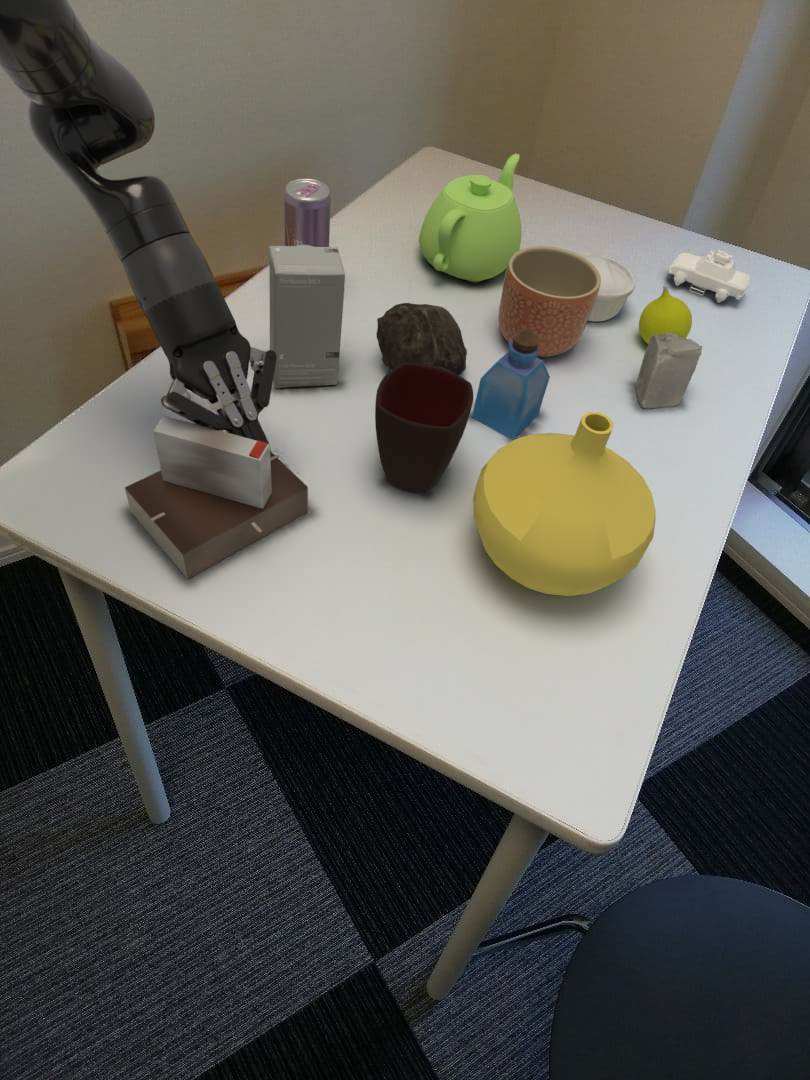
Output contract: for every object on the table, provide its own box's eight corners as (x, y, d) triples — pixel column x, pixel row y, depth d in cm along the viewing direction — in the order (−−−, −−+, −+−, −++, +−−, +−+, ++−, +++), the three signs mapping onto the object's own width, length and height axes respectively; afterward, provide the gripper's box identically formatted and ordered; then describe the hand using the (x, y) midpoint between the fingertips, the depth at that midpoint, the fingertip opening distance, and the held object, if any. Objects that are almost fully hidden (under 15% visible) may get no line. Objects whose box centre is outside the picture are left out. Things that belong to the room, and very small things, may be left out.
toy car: (672, 267, 125) (688, 228, 120) (744, 294, 122) (764, 255, 117) (661, 284, 121) (677, 244, 116) (735, 312, 118) (755, 272, 113)
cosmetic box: (274, 390, 96) (270, 277, 84) (269, 354, 100) (264, 242, 88) (341, 386, 98) (347, 275, 86) (333, 351, 102) (337, 241, 90)
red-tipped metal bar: (162, 480, 79) (152, 428, 74) (173, 465, 81) (164, 413, 75) (263, 509, 78) (260, 458, 73) (272, 492, 80) (269, 442, 74)
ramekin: (639, 315, 115) (651, 283, 111) (585, 335, 110) (596, 303, 106) (588, 276, 121) (598, 245, 116) (535, 294, 116) (544, 262, 112)
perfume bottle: (497, 393, 100) (516, 314, 91) (537, 415, 98) (562, 337, 89) (471, 417, 97) (489, 338, 87) (513, 440, 95) (536, 361, 86)
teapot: (463, 215, 129) (477, 134, 118) (542, 248, 124) (564, 167, 114) (391, 270, 116) (400, 184, 106) (477, 308, 112) (494, 223, 102)
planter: (538, 380, 103) (559, 309, 94) (473, 332, 108) (488, 262, 100) (596, 348, 109) (621, 279, 100) (532, 304, 114) (551, 236, 106)
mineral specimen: (700, 397, 103) (716, 352, 96) (644, 419, 102) (656, 376, 95) (669, 362, 107) (682, 317, 100) (615, 383, 106) (624, 338, 99)
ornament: (624, 330, 112) (647, 268, 105) (666, 327, 114) (693, 266, 106) (645, 361, 108) (671, 299, 100) (689, 357, 110) (718, 296, 102)
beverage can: (335, 290, 111) (339, 188, 99) (311, 308, 108) (312, 205, 96) (302, 274, 113) (302, 173, 101) (277, 292, 109) (274, 189, 98)
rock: (478, 385, 99) (478, 316, 92) (395, 405, 98) (389, 337, 90) (451, 344, 106) (450, 277, 99) (373, 362, 104) (366, 295, 97)
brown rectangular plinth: (198, 593, 76) (194, 568, 73) (120, 501, 82) (112, 474, 79) (320, 523, 83) (321, 497, 80) (239, 443, 90) (237, 416, 86)
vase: (629, 640, 78) (706, 517, 63) (451, 604, 78) (486, 473, 63) (627, 508, 89) (691, 379, 75) (472, 477, 90) (506, 343, 75)
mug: (357, 490, 87) (364, 409, 78) (397, 415, 95) (407, 334, 86) (440, 516, 86) (457, 438, 76) (473, 438, 94) (491, 359, 85)
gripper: (125, 308, 67) (216, 485, 72) (251, 262, 74) (327, 428, 78) (106, 327, 74) (191, 489, 78) (224, 284, 80) (296, 436, 85)
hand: (259, 458), depth 78 cm, fingers closed
